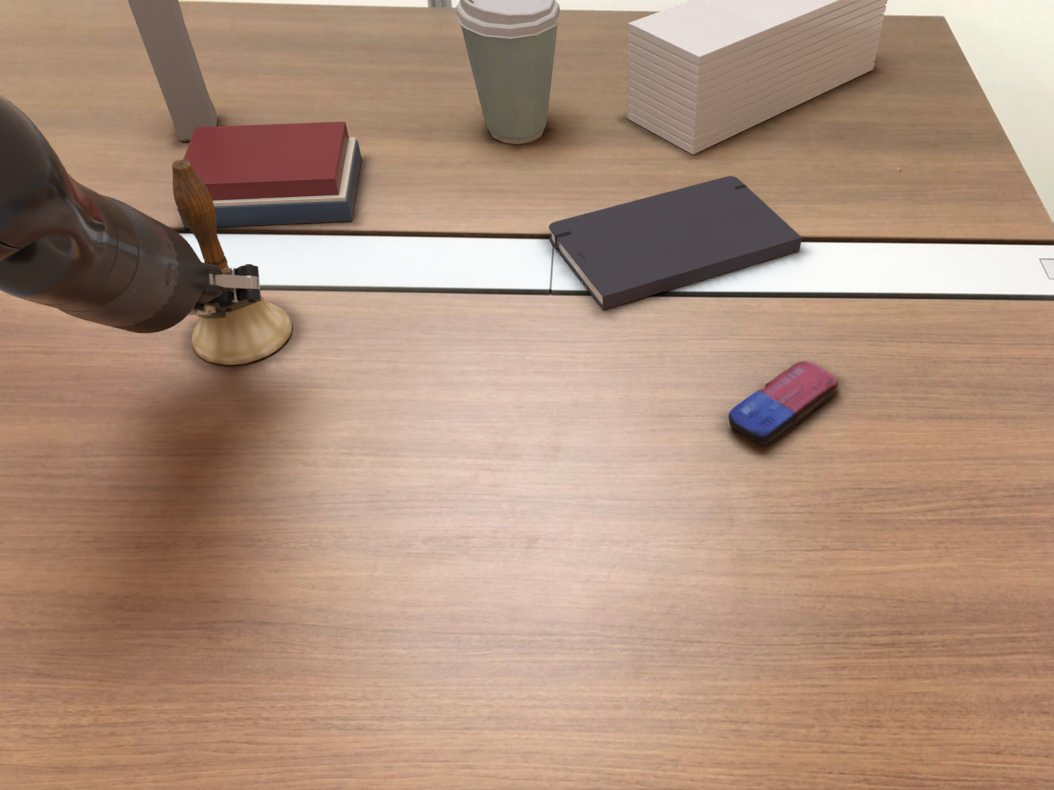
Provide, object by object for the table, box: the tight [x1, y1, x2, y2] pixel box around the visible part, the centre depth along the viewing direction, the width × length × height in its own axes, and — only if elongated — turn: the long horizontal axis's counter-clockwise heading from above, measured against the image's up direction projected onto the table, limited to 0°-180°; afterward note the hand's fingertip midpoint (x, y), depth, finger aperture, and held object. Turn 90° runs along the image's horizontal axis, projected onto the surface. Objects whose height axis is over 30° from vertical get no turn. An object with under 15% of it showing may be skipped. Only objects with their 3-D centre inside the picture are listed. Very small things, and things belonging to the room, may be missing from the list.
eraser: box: [728, 360, 839, 447], centre depth 75 cm, size 11×4×2 cm, turn 135°
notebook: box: [548, 175, 803, 311], centre depth 90 cm, size 13×2×21 cm
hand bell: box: [171, 159, 293, 366], centre depth 75 cm, size 8×8×16 cm
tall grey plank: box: [127, 0, 218, 143], centre depth 94 cm, size 4×5×25 cm
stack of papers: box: [627, 0, 888, 155], centre depth 108 cm, size 32×11×11 cm, turn 133°
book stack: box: [177, 121, 363, 230], centre depth 94 cm, size 12×16×4 cm
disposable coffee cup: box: [455, 0, 562, 145], centre depth 99 cm, size 11×11×15 cm
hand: (215, 305), depth 75 cm, fingers closed
